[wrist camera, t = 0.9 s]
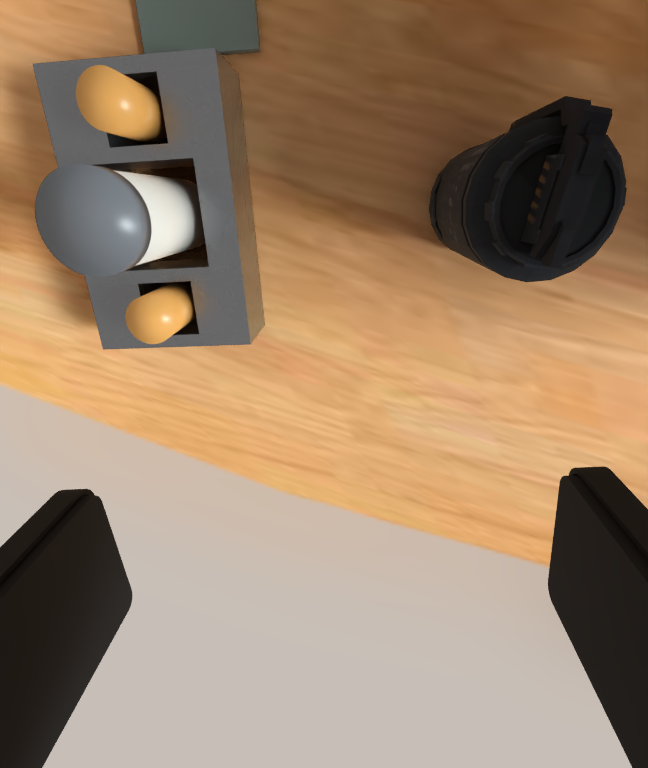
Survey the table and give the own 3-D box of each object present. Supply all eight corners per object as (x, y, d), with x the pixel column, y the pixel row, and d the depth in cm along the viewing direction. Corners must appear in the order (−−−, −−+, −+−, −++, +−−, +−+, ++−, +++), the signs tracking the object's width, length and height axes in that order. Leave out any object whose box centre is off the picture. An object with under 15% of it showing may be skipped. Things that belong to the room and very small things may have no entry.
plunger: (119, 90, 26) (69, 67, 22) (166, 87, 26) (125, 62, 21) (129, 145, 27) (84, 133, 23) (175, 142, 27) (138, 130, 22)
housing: (84, 85, 29) (32, 63, 24) (238, 73, 28) (215, 47, 23) (136, 329, 35) (103, 349, 30) (264, 324, 34) (250, 344, 29)
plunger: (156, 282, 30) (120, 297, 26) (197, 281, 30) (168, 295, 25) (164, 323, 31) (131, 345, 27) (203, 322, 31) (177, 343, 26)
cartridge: (141, 179, 31) (21, 167, 20) (210, 174, 30) (127, 160, 19) (155, 252, 32) (51, 279, 21) (220, 249, 32) (149, 274, 21)
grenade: (519, 253, 31) (653, 296, 17) (422, 254, 31) (476, 297, 18) (535, 134, 28) (710, 71, 14) (429, 138, 29) (499, 79, 15)
